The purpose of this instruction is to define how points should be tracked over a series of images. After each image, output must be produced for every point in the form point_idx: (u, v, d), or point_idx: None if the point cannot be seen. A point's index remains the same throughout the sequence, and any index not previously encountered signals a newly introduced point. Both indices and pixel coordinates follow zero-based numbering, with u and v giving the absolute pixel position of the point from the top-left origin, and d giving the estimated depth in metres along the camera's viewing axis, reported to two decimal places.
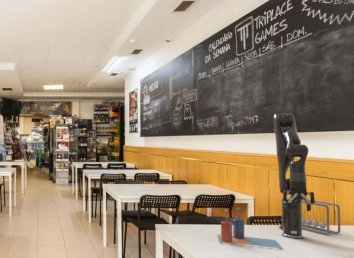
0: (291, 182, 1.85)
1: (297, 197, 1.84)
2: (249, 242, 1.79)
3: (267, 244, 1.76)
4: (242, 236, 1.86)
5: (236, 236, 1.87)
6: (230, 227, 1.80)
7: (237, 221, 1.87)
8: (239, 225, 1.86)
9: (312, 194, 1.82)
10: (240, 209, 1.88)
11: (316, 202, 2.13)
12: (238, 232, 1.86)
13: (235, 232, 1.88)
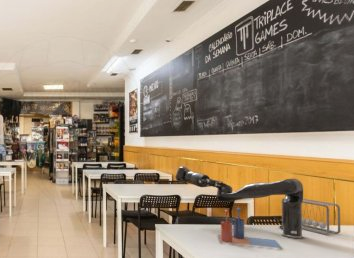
0: (197, 177, 2.14)
1: (210, 180, 2.08)
2: (249, 242, 1.79)
3: (267, 244, 1.76)
4: (242, 236, 1.86)
5: (236, 236, 1.87)
6: (230, 227, 1.80)
7: (237, 221, 1.87)
8: (239, 225, 1.86)
9: (216, 180, 2.12)
10: (240, 209, 1.88)
11: (316, 202, 2.13)
12: (238, 232, 1.86)
13: (235, 232, 1.88)
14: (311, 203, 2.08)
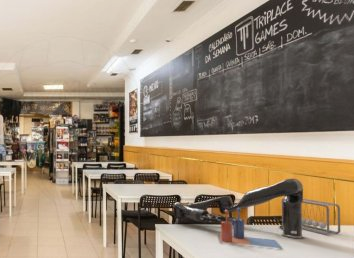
0: (197, 213, 2.10)
1: (211, 216, 2.04)
2: (249, 242, 1.79)
3: (267, 244, 1.76)
4: (242, 236, 1.86)
5: (236, 236, 1.87)
6: (230, 227, 1.80)
7: (237, 221, 1.87)
8: (239, 225, 1.86)
9: (215, 214, 2.09)
10: (240, 209, 1.88)
11: (316, 202, 2.13)
12: (238, 232, 1.86)
13: (235, 232, 1.88)
14: (311, 203, 2.08)
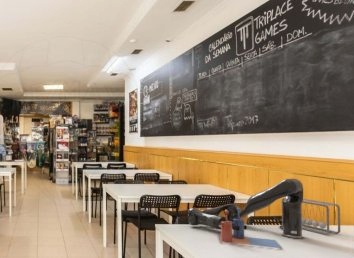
0: (214, 220, 1.99)
1: None
2: (249, 242, 1.79)
3: (267, 244, 1.76)
4: (242, 236, 1.86)
5: (236, 236, 1.87)
6: (230, 227, 1.80)
7: (237, 221, 1.87)
8: (239, 225, 1.86)
9: None
10: (240, 209, 1.88)
11: (316, 202, 2.13)
12: (238, 232, 1.86)
13: (235, 232, 1.88)
14: (311, 203, 2.08)
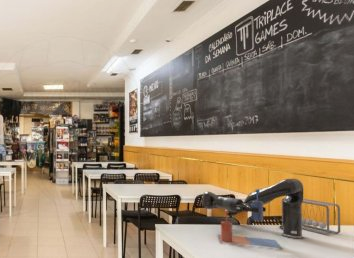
0: (231, 202, 1.93)
1: None
2: (249, 242, 1.79)
3: (267, 244, 1.76)
4: (261, 218, 1.80)
5: (255, 218, 1.81)
6: (230, 227, 1.80)
7: (256, 203, 1.81)
8: (258, 206, 1.80)
9: None
10: None
11: (316, 202, 2.13)
12: (257, 214, 1.81)
13: (254, 214, 1.82)
14: (311, 203, 2.08)
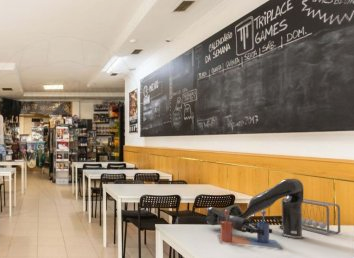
0: (236, 222, 1.90)
1: (253, 226, 1.85)
2: (249, 242, 1.79)
3: (267, 244, 1.76)
4: (267, 240, 1.78)
5: (261, 240, 1.79)
6: (230, 227, 1.80)
7: (262, 225, 1.79)
8: (264, 229, 1.78)
9: None
10: (265, 212, 1.80)
11: (316, 202, 2.13)
12: (263, 236, 1.78)
13: (260, 236, 1.80)
14: (311, 203, 2.08)
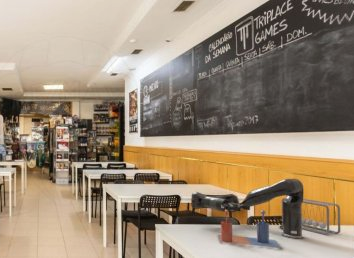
0: (217, 202, 2.02)
1: (232, 205, 1.96)
2: (249, 242, 1.79)
3: (267, 244, 1.76)
4: (267, 240, 1.78)
5: (261, 240, 1.79)
6: (230, 227, 1.80)
7: (262, 225, 1.79)
8: (264, 229, 1.78)
9: (236, 203, 2.01)
10: None
11: (316, 202, 2.13)
12: (263, 236, 1.79)
13: (259, 236, 1.80)
14: (311, 203, 2.08)
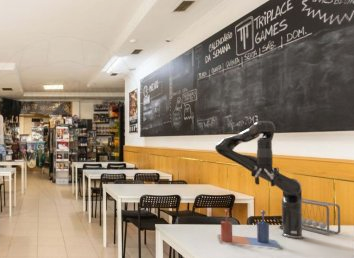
0: (272, 158, 1.88)
1: None
2: (249, 242, 1.79)
3: (267, 244, 1.76)
4: (267, 240, 1.78)
5: (261, 240, 1.79)
6: (230, 227, 1.80)
7: (262, 225, 1.79)
8: (264, 229, 1.78)
9: None
10: None
11: (316, 202, 2.13)
12: (263, 236, 1.79)
13: (259, 236, 1.80)
14: (311, 203, 2.08)
